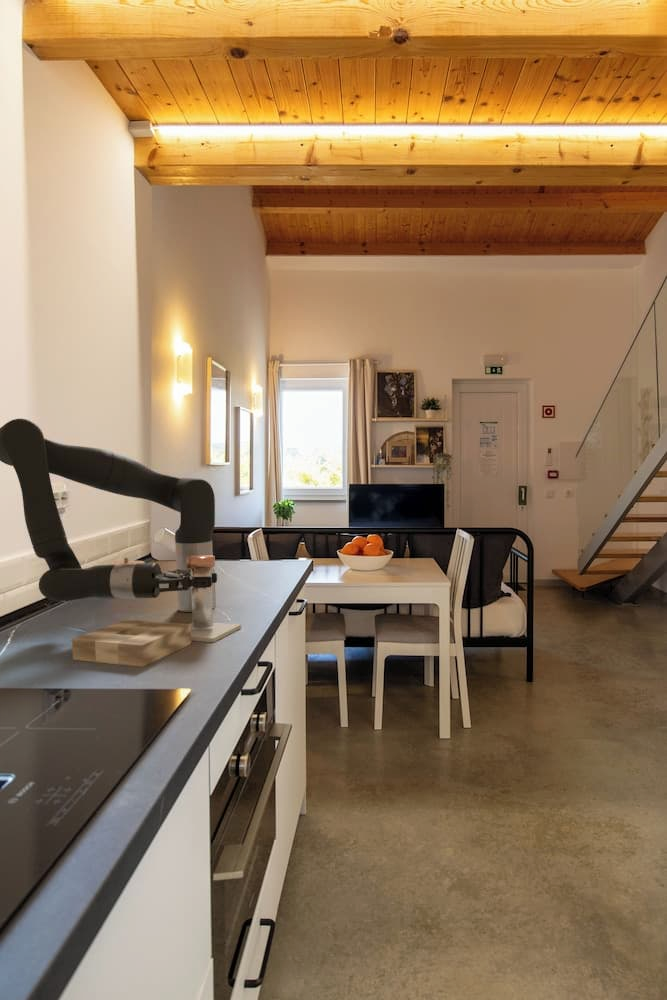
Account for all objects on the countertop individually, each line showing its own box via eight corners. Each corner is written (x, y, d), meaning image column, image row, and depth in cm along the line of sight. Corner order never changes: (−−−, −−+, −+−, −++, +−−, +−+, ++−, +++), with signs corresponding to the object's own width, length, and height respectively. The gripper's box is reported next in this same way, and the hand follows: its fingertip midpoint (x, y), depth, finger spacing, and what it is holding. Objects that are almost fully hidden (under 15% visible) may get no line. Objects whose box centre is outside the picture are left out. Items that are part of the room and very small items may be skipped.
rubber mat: (194, 624, 151) (194, 621, 151) (241, 628, 147) (241, 624, 147) (164, 638, 140) (163, 634, 140) (213, 642, 136) (213, 638, 136)
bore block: (126, 638, 141) (125, 619, 140) (191, 643, 135) (190, 624, 135) (73, 659, 126) (71, 639, 125) (143, 666, 120) (142, 645, 120)
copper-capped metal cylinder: (198, 621, 147) (196, 554, 146) (222, 623, 145) (219, 555, 144) (183, 628, 141) (180, 558, 140) (207, 630, 139) (205, 559, 138)
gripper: (123, 568, 136) (206, 567, 135) (146, 558, 150) (220, 557, 149) (125, 604, 136) (207, 604, 136) (147, 591, 151) (221, 590, 150)
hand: (213, 579), depth 142 cm, fingers closed on copper-capped metal cylinder, 4 cm apart
